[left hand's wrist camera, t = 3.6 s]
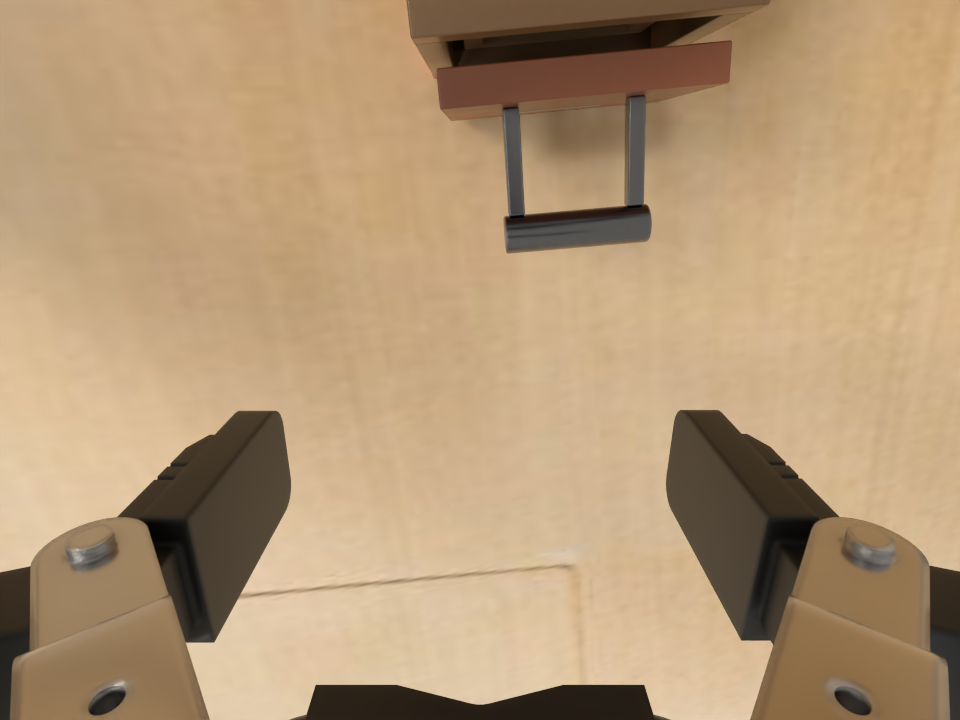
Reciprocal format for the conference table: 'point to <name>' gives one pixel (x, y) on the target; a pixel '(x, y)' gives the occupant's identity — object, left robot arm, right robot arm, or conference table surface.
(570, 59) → the drawer
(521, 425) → the conference table surface
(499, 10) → the cabinet
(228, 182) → the conference table surface
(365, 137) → the conference table surface
